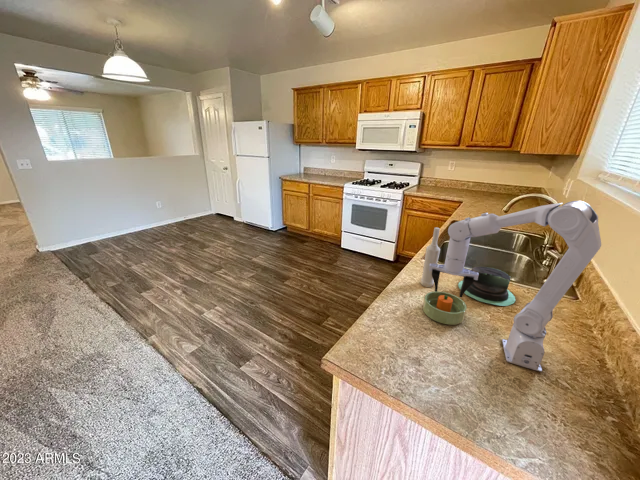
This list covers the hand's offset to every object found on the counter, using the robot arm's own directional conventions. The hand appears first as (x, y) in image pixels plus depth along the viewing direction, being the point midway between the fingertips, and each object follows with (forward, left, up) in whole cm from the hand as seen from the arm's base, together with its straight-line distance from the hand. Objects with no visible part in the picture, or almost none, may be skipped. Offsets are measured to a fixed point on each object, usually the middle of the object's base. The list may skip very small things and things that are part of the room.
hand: (448, 293), depth 90 cm
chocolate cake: (+24, -15, -9) cm, 29 cm away
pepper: (0, 0, -8) cm, 8 cm away
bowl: (0, 0, -8) cm, 8 cm away
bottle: (+19, +7, -9) cm, 22 cm away
